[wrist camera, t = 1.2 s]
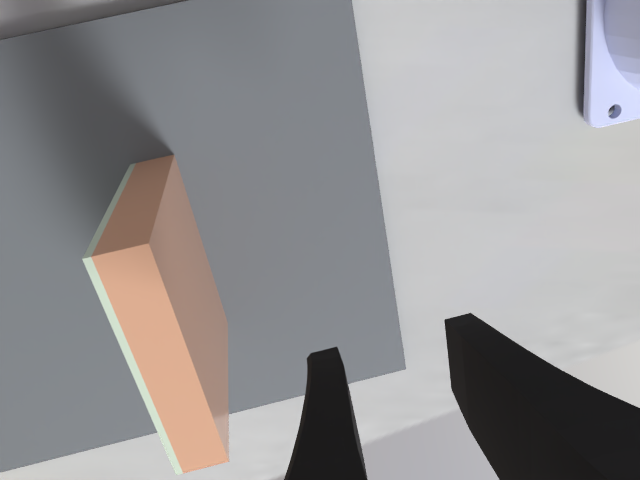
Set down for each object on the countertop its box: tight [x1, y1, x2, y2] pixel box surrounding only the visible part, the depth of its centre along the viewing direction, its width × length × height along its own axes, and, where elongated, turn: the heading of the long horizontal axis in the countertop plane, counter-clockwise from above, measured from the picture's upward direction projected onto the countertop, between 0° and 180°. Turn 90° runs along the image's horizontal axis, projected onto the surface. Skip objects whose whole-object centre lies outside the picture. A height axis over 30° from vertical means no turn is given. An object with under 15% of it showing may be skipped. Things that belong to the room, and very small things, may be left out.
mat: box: [0, 0, 406, 472], centre depth 20 cm, size 18×16×1 cm
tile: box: [82, 155, 229, 475], centre depth 17 cm, size 2×7×7 cm, turn 11°
